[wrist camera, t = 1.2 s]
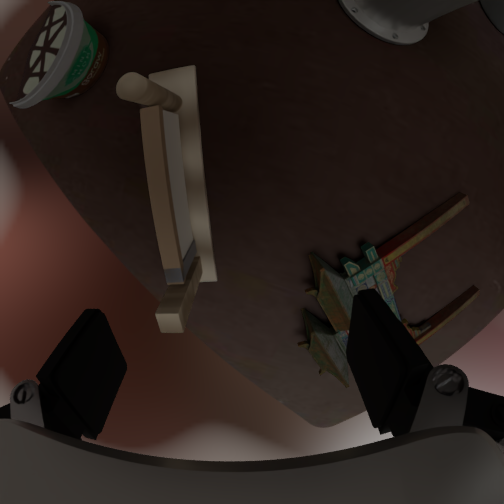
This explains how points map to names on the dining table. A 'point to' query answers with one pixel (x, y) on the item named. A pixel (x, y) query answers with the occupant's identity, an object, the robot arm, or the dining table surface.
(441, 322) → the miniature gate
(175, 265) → the panel
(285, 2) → the dining table surface
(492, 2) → the water bottle
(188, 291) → the gate frame
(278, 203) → the dining table surface
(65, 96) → the food container
